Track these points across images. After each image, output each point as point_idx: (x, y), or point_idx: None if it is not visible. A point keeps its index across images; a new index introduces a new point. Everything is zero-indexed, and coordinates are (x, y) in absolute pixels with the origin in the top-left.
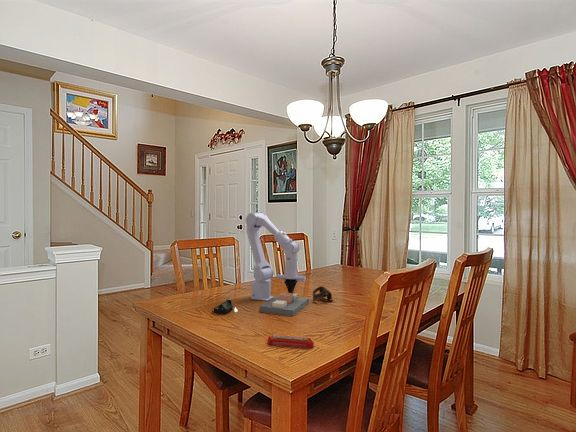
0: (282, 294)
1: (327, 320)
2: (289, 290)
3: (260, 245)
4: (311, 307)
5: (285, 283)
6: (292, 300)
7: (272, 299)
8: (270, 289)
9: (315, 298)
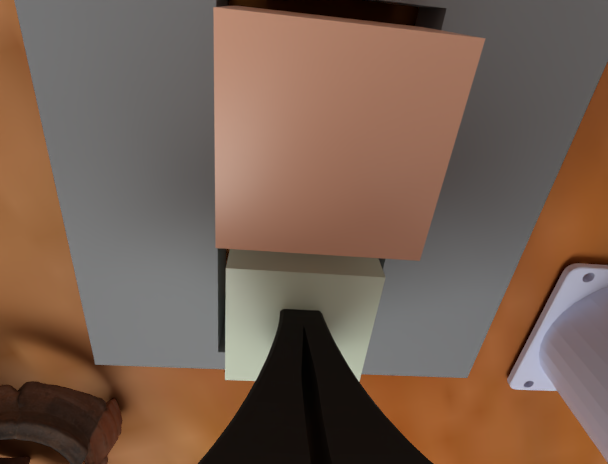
0: (391, 86)
1: None
2: (312, 354)
3: None
4: (8, 196)
5: (420, 461)
6: None
7: (533, 180)
8: (596, 423)
9: (48, 392)
